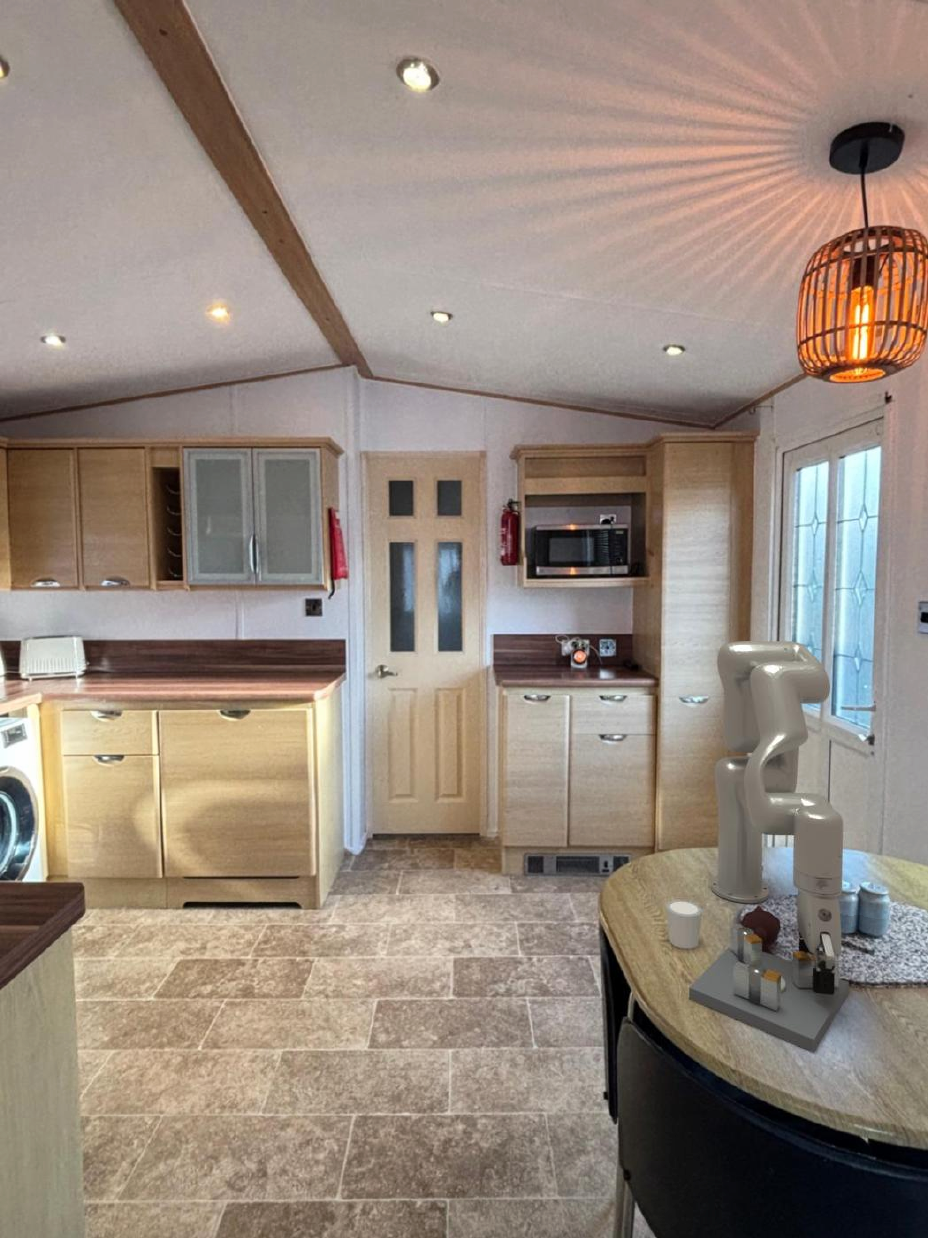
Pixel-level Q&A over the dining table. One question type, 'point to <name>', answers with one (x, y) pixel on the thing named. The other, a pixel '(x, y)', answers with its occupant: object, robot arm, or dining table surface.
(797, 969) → the grey blocks with cylinder
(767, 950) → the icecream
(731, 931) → the grey upright block
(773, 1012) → the plate
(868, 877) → the dining table surface
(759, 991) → the grey blocks with cylinder
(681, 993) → the dining table surface
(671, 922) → the white cylinder
